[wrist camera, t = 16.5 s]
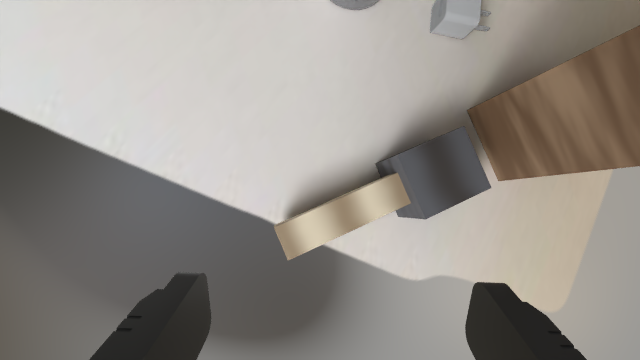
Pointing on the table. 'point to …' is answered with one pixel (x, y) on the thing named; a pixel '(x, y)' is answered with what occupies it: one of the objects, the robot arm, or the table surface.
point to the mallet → (394, 192)
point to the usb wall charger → (456, 17)
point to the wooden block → (568, 116)
